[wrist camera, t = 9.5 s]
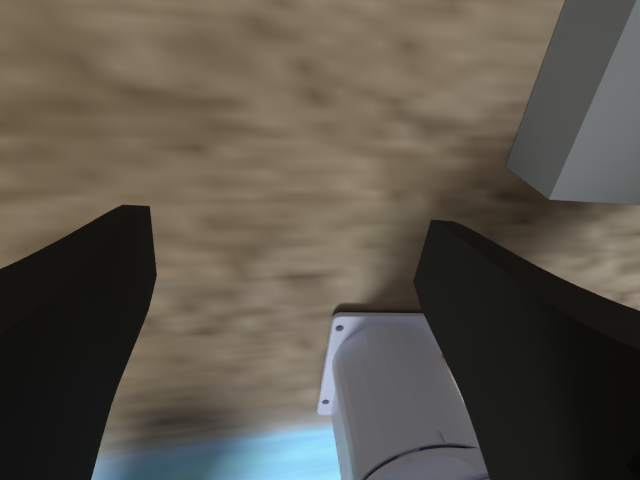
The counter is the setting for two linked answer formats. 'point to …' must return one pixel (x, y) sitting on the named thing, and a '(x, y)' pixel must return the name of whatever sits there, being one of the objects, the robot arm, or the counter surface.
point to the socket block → (585, 108)
